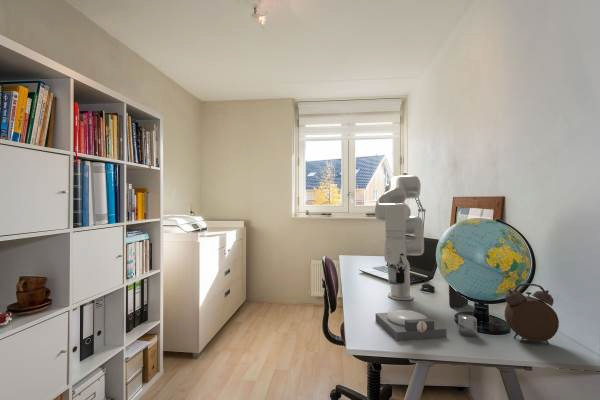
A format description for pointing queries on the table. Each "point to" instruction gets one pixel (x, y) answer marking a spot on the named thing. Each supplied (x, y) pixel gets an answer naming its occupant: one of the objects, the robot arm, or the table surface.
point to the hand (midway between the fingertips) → (396, 280)
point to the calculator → (456, 299)
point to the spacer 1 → (392, 275)
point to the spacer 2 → (467, 325)
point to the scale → (410, 325)
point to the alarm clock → (531, 314)
